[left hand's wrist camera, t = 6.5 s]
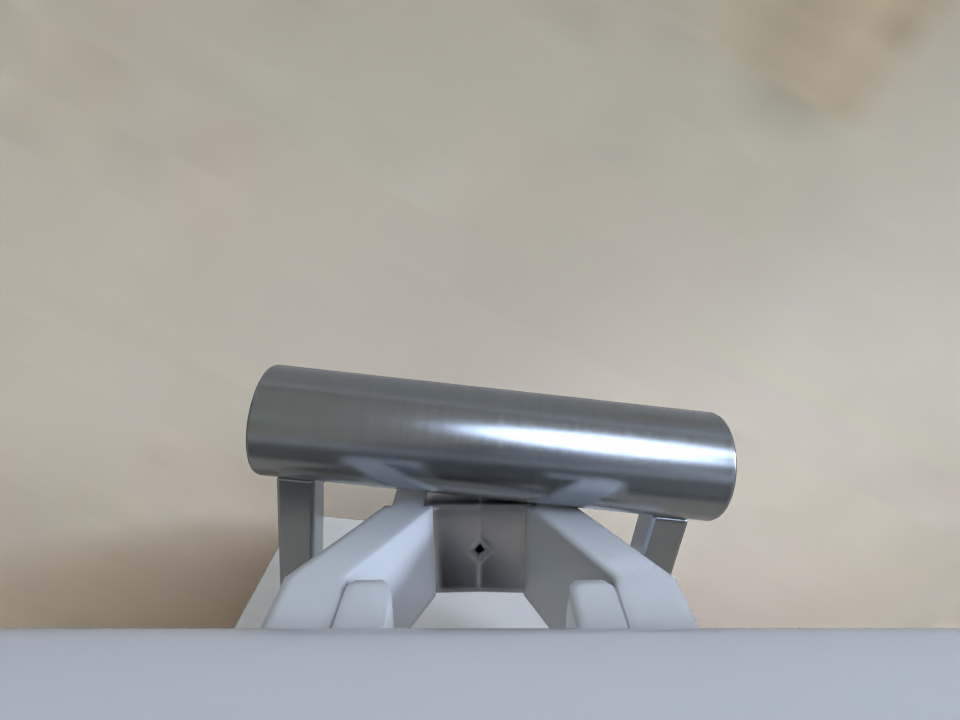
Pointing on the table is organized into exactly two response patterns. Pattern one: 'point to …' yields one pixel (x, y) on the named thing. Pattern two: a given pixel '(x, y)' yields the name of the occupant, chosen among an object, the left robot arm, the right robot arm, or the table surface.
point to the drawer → (476, 466)
